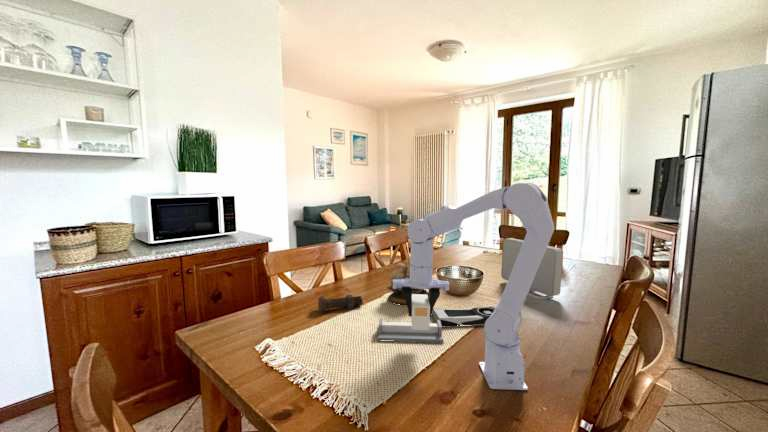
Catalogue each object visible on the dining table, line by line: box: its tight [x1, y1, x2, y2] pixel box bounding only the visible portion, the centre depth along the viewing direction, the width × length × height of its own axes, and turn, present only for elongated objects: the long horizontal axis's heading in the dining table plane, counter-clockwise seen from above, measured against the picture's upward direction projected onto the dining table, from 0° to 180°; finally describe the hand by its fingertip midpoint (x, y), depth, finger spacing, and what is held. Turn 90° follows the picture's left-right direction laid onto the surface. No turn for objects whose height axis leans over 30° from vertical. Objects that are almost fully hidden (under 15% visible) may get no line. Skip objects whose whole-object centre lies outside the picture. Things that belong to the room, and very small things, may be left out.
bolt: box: [317, 294, 364, 314], centre depth 107 cm, size 6×5×15 cm
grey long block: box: [377, 317, 444, 343], centre depth 90 cm, size 9×18×4 cm, turn 88°
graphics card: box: [431, 306, 497, 327], centre depth 100 cm, size 10×3×25 cm
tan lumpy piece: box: [387, 256, 429, 306], centre depth 116 cm, size 18×12×17 cm, turn 106°
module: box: [410, 294, 431, 330], centre depth 82 cm, size 8×4×6 cm, turn 177°
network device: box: [500, 237, 564, 300], centre depth 127 cm, size 26×9×20 cm, turn 25°
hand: (419, 315), depth 82 cm, fingers closed on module, 4 cm apart
